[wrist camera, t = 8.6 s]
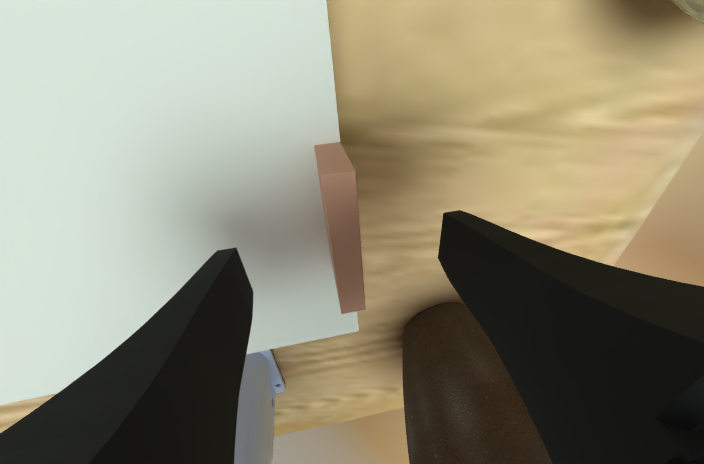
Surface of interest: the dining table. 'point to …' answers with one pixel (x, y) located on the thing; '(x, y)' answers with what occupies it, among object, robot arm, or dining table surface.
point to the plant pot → (462, 395)
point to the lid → (166, 174)
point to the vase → (692, 8)
